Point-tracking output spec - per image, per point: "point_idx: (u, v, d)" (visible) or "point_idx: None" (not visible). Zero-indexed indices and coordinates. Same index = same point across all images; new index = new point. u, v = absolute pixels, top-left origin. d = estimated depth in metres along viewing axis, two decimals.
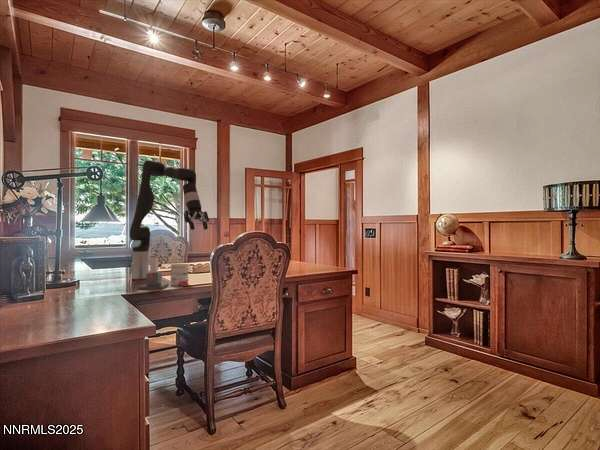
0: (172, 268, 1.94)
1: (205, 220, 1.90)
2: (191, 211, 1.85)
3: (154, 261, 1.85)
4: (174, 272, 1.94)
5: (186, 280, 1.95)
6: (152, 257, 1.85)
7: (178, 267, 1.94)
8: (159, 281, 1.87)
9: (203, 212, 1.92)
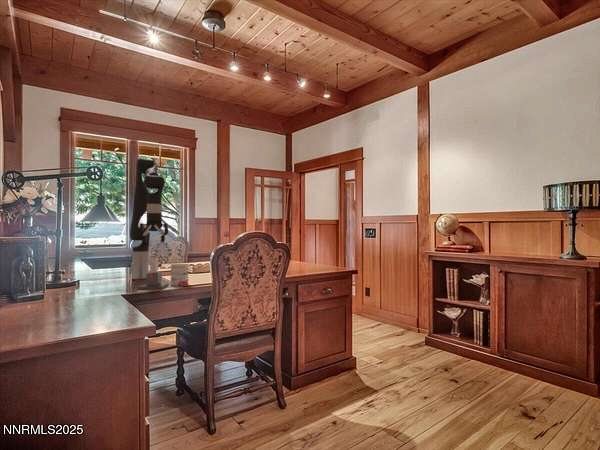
0: (172, 268, 1.94)
1: (162, 233, 1.86)
2: (147, 224, 1.85)
3: (154, 261, 1.85)
4: (174, 272, 1.94)
5: (186, 280, 1.95)
6: (152, 257, 1.85)
7: (178, 267, 1.94)
8: (159, 281, 1.87)
9: (163, 224, 1.87)
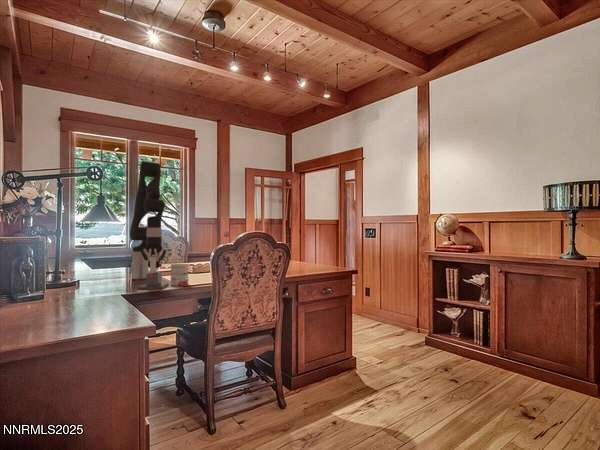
0: (172, 268, 1.94)
1: (157, 259, 1.86)
2: (146, 248, 1.85)
3: (154, 261, 1.85)
4: (174, 272, 1.94)
5: (186, 280, 1.95)
6: (152, 257, 1.85)
7: (178, 267, 1.94)
8: (159, 281, 1.87)
9: (163, 249, 1.87)
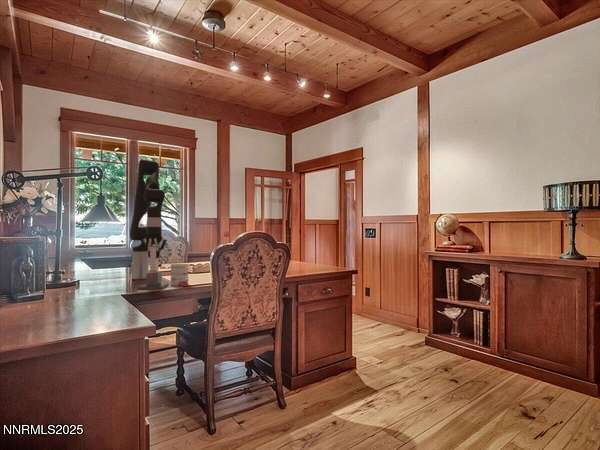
0: (172, 268, 1.94)
1: (157, 249, 1.86)
2: (146, 238, 1.85)
3: (154, 251, 1.85)
4: (174, 272, 1.94)
5: (186, 280, 1.95)
6: (152, 247, 1.85)
7: (178, 267, 1.94)
8: (159, 281, 1.87)
9: (163, 239, 1.87)
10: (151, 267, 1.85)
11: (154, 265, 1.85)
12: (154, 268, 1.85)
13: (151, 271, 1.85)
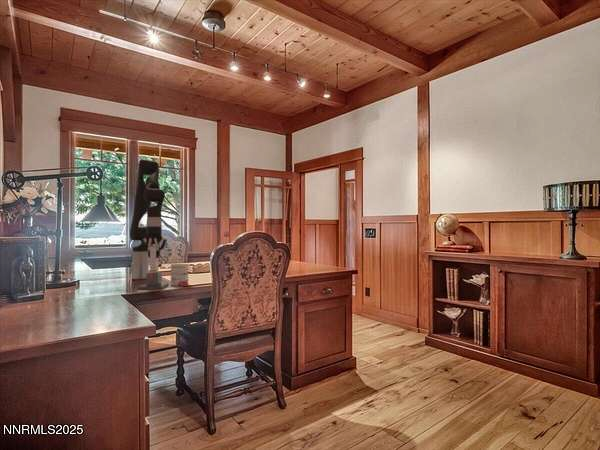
0: (172, 268, 1.94)
1: (157, 248, 1.86)
2: (146, 237, 1.85)
3: (154, 251, 1.85)
4: (174, 272, 1.94)
5: (186, 280, 1.95)
6: (152, 247, 1.85)
7: (178, 267, 1.94)
8: (159, 281, 1.87)
9: (163, 239, 1.87)
10: (151, 267, 1.85)
11: (154, 265, 1.85)
12: (154, 268, 1.85)
13: (151, 271, 1.85)
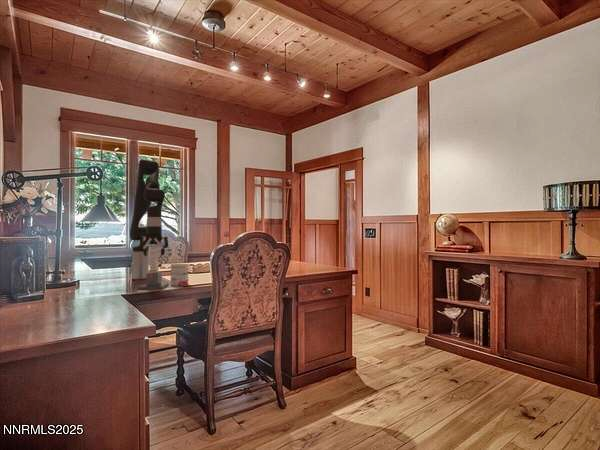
0: (172, 268, 1.94)
1: (161, 246, 1.86)
2: (147, 237, 1.85)
3: (154, 251, 1.85)
4: (174, 272, 1.94)
5: (186, 280, 1.95)
6: (152, 247, 1.85)
7: (178, 267, 1.94)
8: (159, 281, 1.87)
9: (163, 237, 1.87)
10: (151, 267, 1.85)
11: (154, 265, 1.85)
12: (154, 268, 1.85)
13: (151, 271, 1.85)
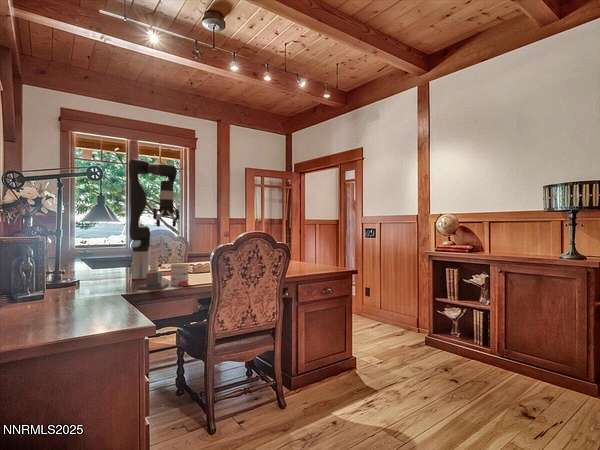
0: (172, 268, 1.94)
1: (173, 218, 2.00)
2: (160, 209, 2.00)
3: (154, 251, 1.85)
4: (174, 272, 1.94)
5: (186, 280, 1.95)
6: (152, 247, 1.85)
7: (178, 267, 1.94)
8: (159, 281, 1.87)
9: (175, 210, 2.01)
10: (151, 267, 1.85)
11: (154, 265, 1.85)
12: (154, 268, 1.85)
13: (151, 271, 1.85)
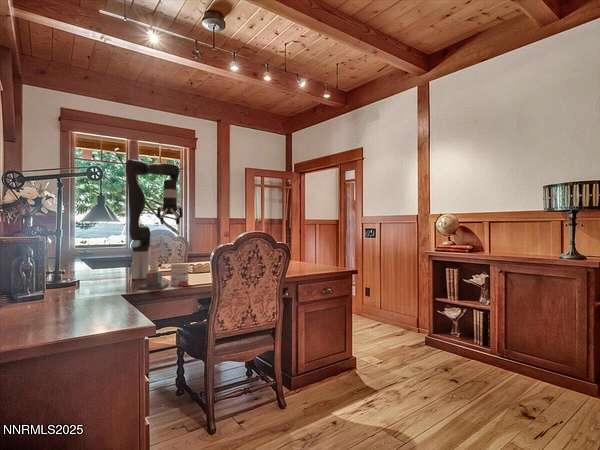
0: (172, 268, 1.94)
1: (177, 216, 2.05)
2: (163, 207, 2.05)
3: (154, 251, 1.85)
4: (174, 272, 1.94)
5: (186, 280, 1.95)
6: (152, 247, 1.85)
7: (178, 267, 1.94)
8: (159, 281, 1.87)
9: (178, 208, 2.06)
10: (151, 267, 1.85)
11: (154, 265, 1.85)
12: (154, 268, 1.85)
13: (151, 271, 1.85)
